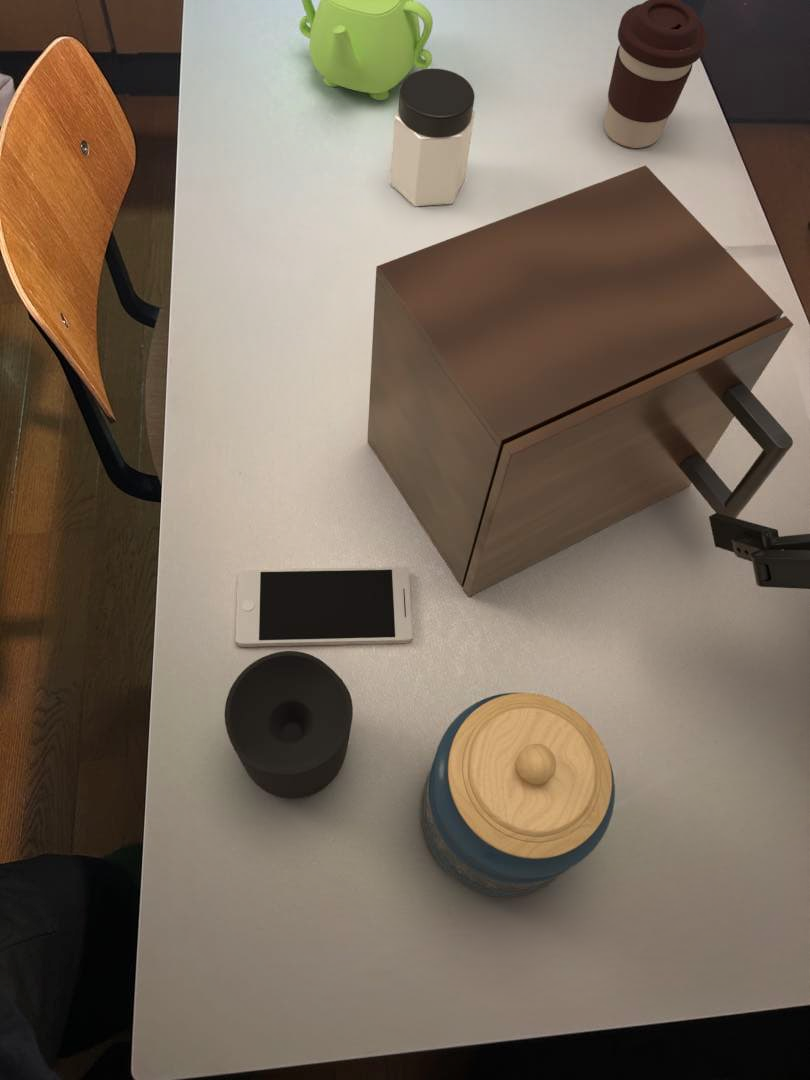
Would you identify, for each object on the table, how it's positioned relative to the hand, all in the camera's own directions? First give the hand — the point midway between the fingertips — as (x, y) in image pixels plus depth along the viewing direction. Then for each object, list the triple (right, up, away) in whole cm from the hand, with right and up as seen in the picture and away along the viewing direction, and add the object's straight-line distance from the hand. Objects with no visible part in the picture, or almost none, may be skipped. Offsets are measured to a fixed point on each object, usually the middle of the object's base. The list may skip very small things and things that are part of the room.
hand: (778, 495), depth 77 cm
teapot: (-36, +55, +42) cm, 78 cm away
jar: (-28, +38, +33) cm, 58 cm away
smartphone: (-38, -10, +7) cm, 40 cm away
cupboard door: (-12, -6, +11) cm, 17 cm away
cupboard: (-19, +4, +16) cm, 25 cm away
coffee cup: (-2, +48, +40) cm, 62 cm away
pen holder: (-40, -21, +1) cm, 45 cm away
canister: (-23, -26, -1) cm, 35 cm away
